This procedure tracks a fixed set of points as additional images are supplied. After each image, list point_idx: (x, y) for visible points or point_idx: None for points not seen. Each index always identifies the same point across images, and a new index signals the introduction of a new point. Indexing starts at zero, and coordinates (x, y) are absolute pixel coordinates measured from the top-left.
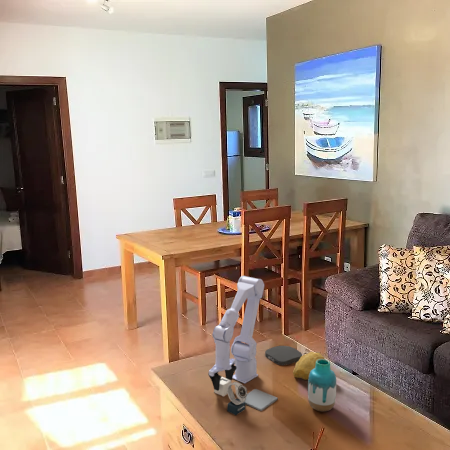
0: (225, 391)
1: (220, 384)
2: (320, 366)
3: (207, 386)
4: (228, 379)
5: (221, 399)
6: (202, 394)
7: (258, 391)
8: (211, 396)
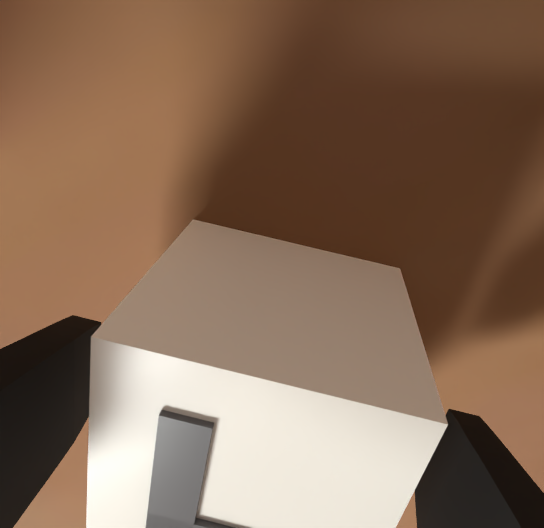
0: (346, 287)
1: (408, 483)
2: None
3: None
4: (98, 413)
5: (511, 255)
6: None
7: None
8: None
